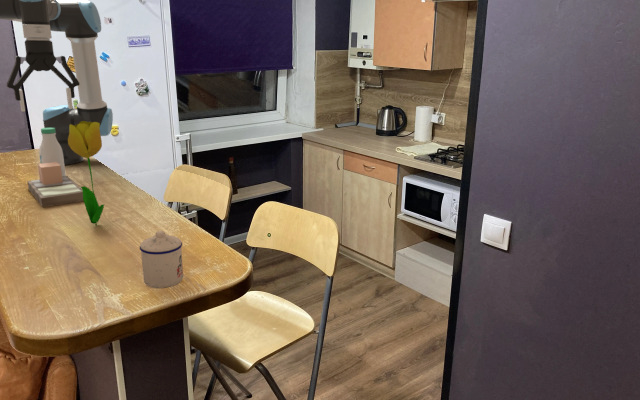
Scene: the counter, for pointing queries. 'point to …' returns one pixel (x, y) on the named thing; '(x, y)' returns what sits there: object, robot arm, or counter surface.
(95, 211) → the flower
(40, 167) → the terracotta block
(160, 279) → the teacup with lid
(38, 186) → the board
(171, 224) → the counter surface
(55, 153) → the milk bottle
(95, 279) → the counter surface
